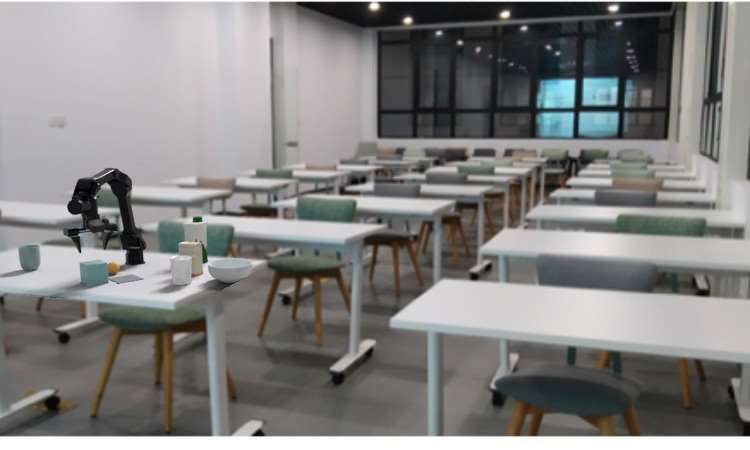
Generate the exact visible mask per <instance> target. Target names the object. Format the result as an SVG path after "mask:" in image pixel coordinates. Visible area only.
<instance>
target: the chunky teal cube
mask: <svg viewBox="0 0 750 450" xmlns="http://www.w3.org/2000/svg"><path fill="white" fill-rule="evenodd" d="M107 265H108V262H106V261H103V260H101V259H96V260H89V261H81V262H79V272H80V274H79V276H80V283H82V284H83V285H85V286H88V287H89V286H90V287H91V286H97V285H102V284H107V283H109V279H108V278H109V272H108V266H107Z"/></svg>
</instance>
